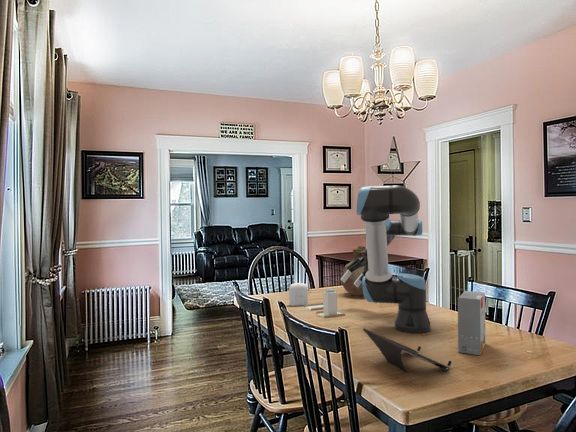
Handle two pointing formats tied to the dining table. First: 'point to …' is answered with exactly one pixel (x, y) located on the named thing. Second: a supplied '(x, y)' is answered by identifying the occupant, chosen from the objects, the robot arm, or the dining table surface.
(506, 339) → the dining table surface
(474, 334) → the hard drive box
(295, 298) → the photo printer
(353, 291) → the jug
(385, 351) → the portable electronic device stand
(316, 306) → the dock board
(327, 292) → the white rectangular box
